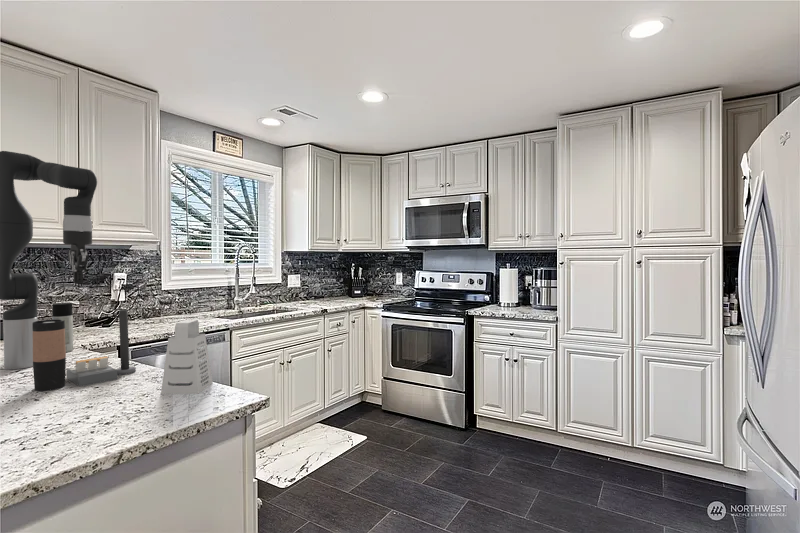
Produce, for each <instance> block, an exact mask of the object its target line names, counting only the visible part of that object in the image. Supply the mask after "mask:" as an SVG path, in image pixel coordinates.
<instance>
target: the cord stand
mask: <svg viewBox="0 0 800 533" xmlns="http://www.w3.org/2000/svg"><path fill="white" fill-rule="evenodd" d="M128 315H129V314H128V309H120V310H118V320H119V322H118V323H119V324H118V325H119V327H118V328H119V347H120V348H119V349H120V352H119V354H120V367H119V368H115V369H116V370H117V376H125V375H131V374H133V373H136V367H135V366H130V352H129V351H130V348H129V345H130V344H129V321H128V320H129V318H128V317H129V316H128Z"/></svg>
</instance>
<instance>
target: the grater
mask: <svg viewBox="0 0 800 533" xmlns="http://www.w3.org/2000/svg"><path fill="white" fill-rule="evenodd" d="M199 323H200V322H199V321H198V320H197V319H192V320H191V319H186V320H185V319H184V320H181V321H178V322H176V323H175V325H174V336H170V337H168V339H167V346H166V353H165V361H164V368H163V373H162V374H163V375H162V383H161V390H160V395H198V394H201V393H202V392H203V391H204V390H206V388H208V387H209V386H211V385H213V382H214V381H213V375H212V369H211V365H210V364H211V363H210V358H209V349H208V345H207V338H206V333H199V332H200V326H199ZM178 384H190V385H178Z"/></svg>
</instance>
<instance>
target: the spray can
mask: <svg viewBox="0 0 800 533" xmlns="http://www.w3.org/2000/svg"><path fill="white" fill-rule="evenodd" d="M51 311H52V312H51V314H52V315H51V320H56V319H58V320H61V321H64V320H65V348H66V353H69V352H73V351H74V322H73V320H74V319H73V316H74V315H73V303H72V302H57V303H52V306H51Z"/></svg>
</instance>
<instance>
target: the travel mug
mask: <svg viewBox="0 0 800 533" xmlns="http://www.w3.org/2000/svg"><path fill="white" fill-rule="evenodd" d="M32 329H33V366H32V369H33V384H34V385H33V386H34V391H35V392H49V391H55V390H59V389H61V388H64V387H65V386H66V375H67V373H66V369H67V368H66V367H67V366H66V363H67V356H66V354H67V352H66V348H65V320H64V321H61V320H58V319H56V320H52V319H44V320H37V321H36V322H33V323H32Z"/></svg>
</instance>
